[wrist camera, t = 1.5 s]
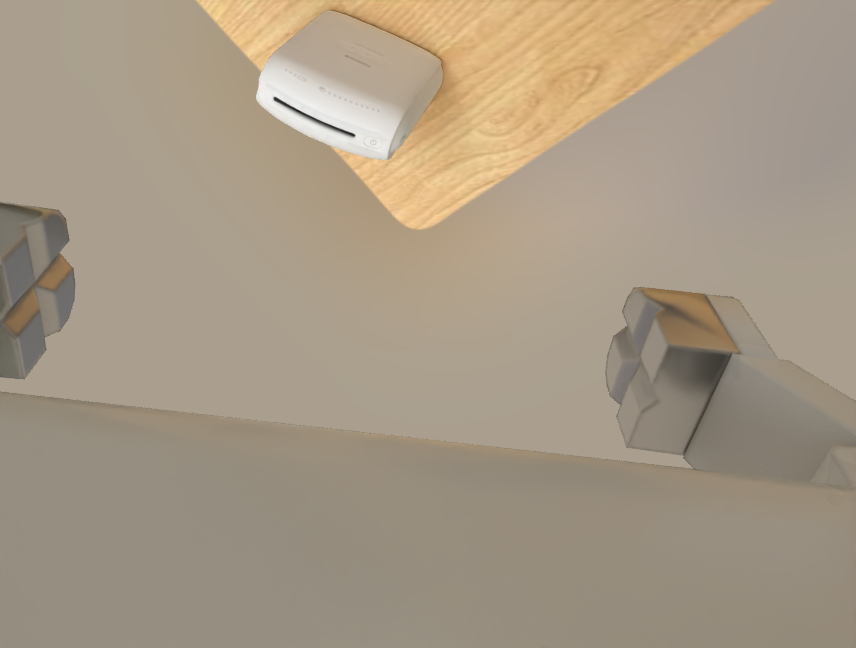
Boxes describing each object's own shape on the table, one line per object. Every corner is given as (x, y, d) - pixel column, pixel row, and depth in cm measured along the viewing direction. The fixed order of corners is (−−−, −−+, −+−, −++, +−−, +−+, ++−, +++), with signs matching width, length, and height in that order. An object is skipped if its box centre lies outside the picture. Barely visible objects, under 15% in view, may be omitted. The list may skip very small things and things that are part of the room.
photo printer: (453, 56, 54) (401, 127, 44) (435, 108, 56) (383, 184, 47) (324, -2, 54) (246, 57, 44) (312, 52, 56) (236, 118, 47)
